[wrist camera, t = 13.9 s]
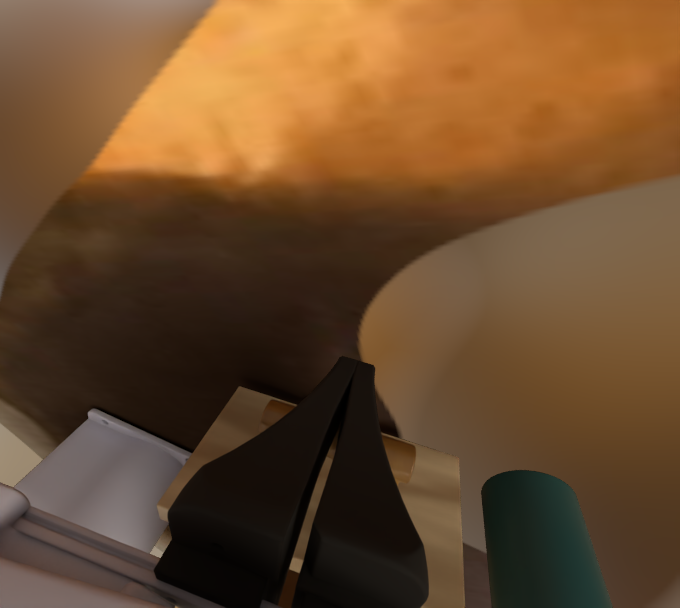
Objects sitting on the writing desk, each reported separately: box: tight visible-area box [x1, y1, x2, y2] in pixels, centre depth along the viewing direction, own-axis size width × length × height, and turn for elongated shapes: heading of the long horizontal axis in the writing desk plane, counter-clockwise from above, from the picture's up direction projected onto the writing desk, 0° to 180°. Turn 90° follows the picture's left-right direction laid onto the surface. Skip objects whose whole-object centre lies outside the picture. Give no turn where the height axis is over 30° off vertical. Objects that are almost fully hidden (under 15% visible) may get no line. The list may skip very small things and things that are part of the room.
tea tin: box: [481, 470, 613, 608], centre depth 16 cm, size 5×5×8 cm
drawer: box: [157, 386, 465, 608], centre depth 18 cm, size 18×12×7 cm
